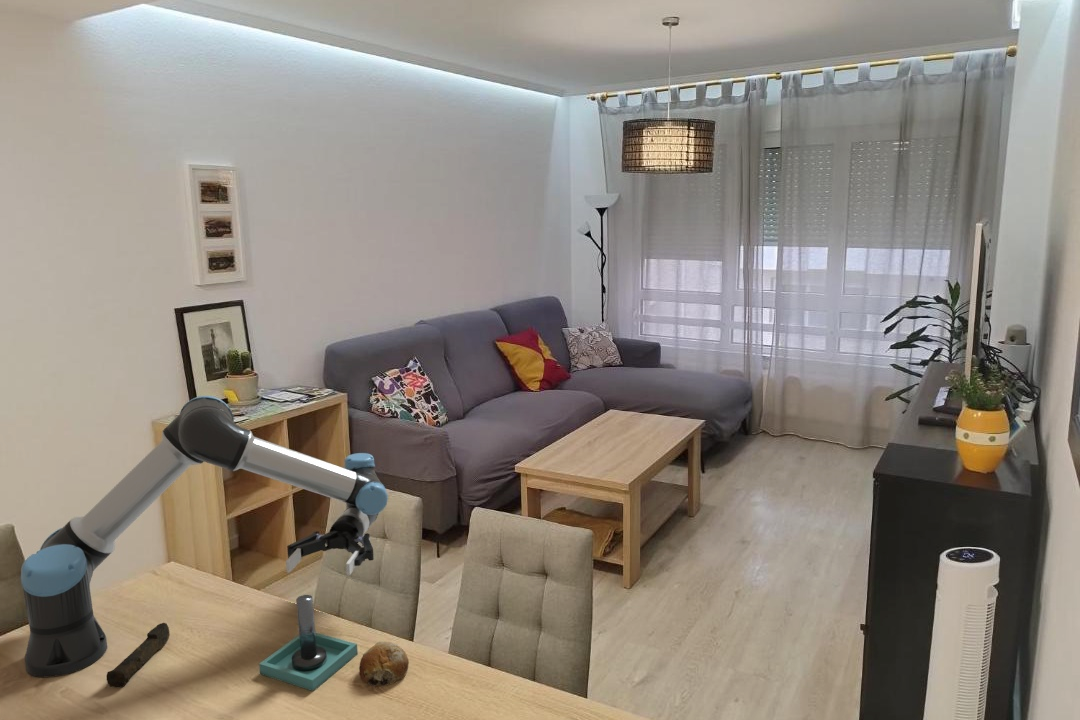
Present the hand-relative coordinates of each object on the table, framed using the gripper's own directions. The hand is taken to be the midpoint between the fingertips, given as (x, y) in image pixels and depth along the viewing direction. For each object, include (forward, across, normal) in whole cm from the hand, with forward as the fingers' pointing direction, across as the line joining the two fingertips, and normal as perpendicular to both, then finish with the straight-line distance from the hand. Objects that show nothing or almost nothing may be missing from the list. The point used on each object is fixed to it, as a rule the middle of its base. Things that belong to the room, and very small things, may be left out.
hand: (317, 568), depth 171 cm
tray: (+11, -1, -16) cm, 20 cm away
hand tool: (+12, +35, -18) cm, 41 cm away
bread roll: (+13, -18, -17) cm, 28 cm away
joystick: (+11, -1, -16) cm, 19 cm away
